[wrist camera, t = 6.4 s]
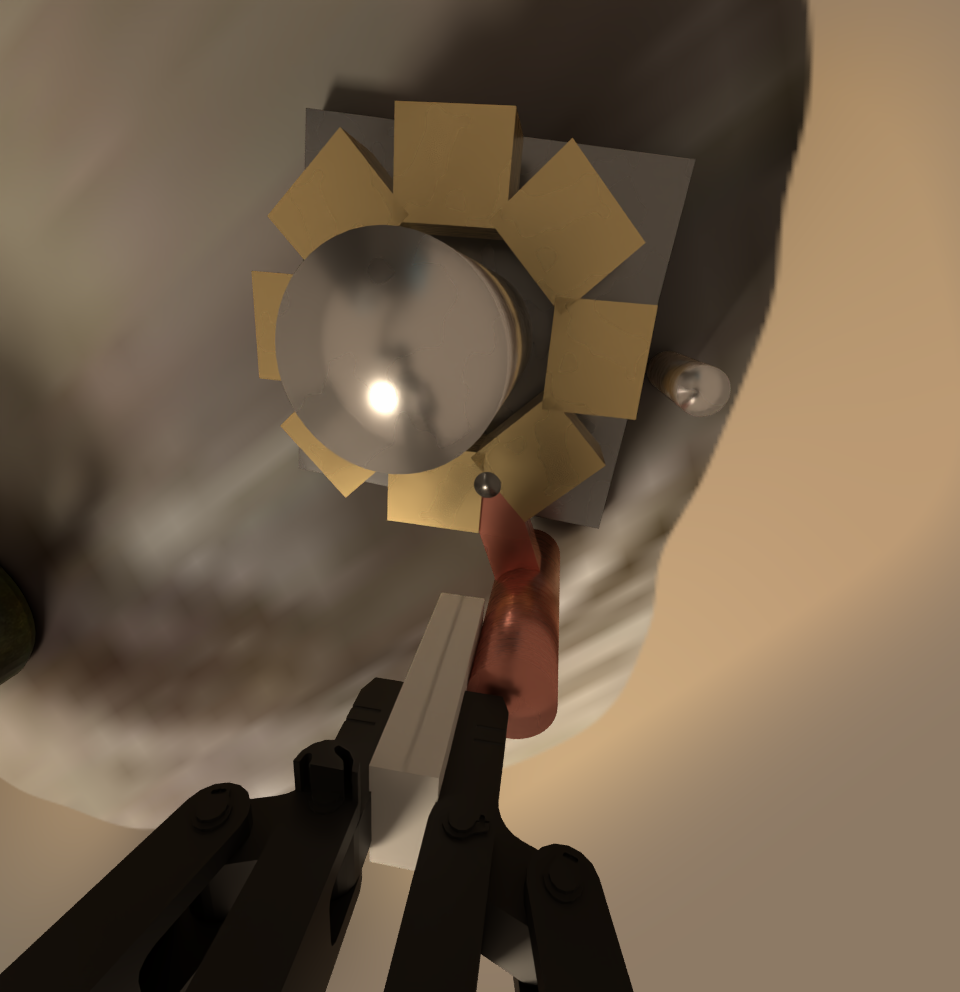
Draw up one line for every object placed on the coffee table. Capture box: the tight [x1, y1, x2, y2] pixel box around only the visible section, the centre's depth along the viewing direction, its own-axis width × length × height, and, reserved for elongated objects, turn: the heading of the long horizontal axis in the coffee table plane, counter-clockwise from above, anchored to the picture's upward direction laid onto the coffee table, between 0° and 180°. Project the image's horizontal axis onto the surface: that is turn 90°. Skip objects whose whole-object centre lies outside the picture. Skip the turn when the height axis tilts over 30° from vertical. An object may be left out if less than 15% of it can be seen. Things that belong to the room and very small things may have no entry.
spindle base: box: [275, 108, 731, 529], centre depth 15 cm, size 13×15×10 cm
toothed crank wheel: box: [252, 101, 658, 739], centre depth 15 cm, size 16×12×8 cm
